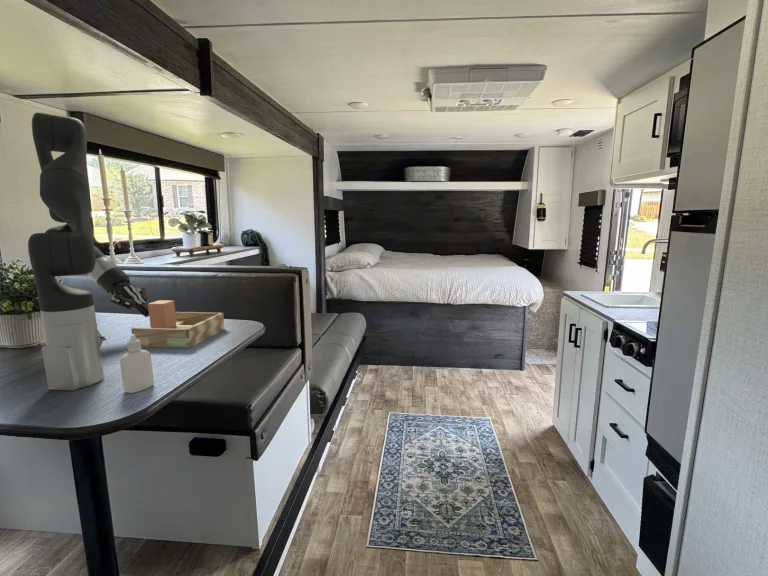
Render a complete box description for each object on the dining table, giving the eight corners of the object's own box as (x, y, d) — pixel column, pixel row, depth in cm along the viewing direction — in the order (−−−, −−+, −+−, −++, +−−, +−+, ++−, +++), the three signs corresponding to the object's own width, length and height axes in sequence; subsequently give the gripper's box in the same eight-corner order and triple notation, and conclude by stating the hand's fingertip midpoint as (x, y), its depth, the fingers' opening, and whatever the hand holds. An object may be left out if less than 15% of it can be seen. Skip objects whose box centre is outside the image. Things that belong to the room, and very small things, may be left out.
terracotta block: (166, 330, 120) (163, 304, 119) (150, 329, 121) (147, 303, 119) (176, 325, 125) (173, 300, 124) (161, 325, 126) (158, 300, 124)
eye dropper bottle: (124, 387, 87) (117, 334, 85) (154, 382, 90) (147, 330, 87) (123, 395, 83) (116, 339, 81) (154, 389, 86) (148, 335, 84)
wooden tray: (189, 348, 112) (187, 329, 111) (133, 347, 114) (131, 328, 113) (224, 329, 132) (223, 312, 131) (176, 327, 134) (174, 311, 133)
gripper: (97, 269, 114) (142, 311, 115) (130, 263, 127) (170, 301, 128) (82, 287, 116) (127, 328, 117) (117, 280, 129) (156, 317, 130)
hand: (149, 314), depth 123 cm, fingers closed
